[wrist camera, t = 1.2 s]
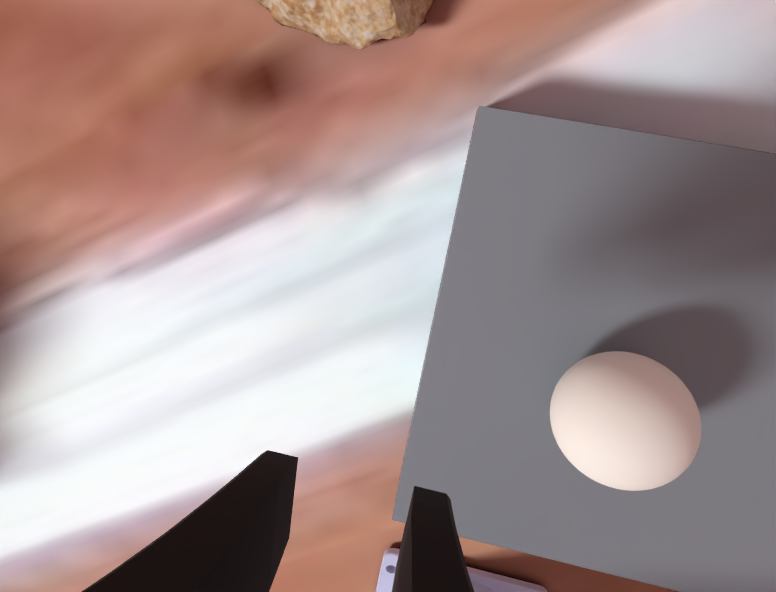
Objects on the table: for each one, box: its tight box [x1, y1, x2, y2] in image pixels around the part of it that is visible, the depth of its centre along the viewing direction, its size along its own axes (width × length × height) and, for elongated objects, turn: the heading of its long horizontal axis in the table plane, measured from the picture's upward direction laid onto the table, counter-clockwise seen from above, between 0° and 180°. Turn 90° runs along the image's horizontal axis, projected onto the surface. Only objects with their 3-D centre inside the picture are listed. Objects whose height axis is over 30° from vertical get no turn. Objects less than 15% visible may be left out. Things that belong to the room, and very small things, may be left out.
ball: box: [550, 351, 701, 491], centre depth 14 cm, size 4×4×4 cm
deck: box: [392, 106, 776, 592], centre depth 16 cm, size 16×24×2 cm, turn 81°
